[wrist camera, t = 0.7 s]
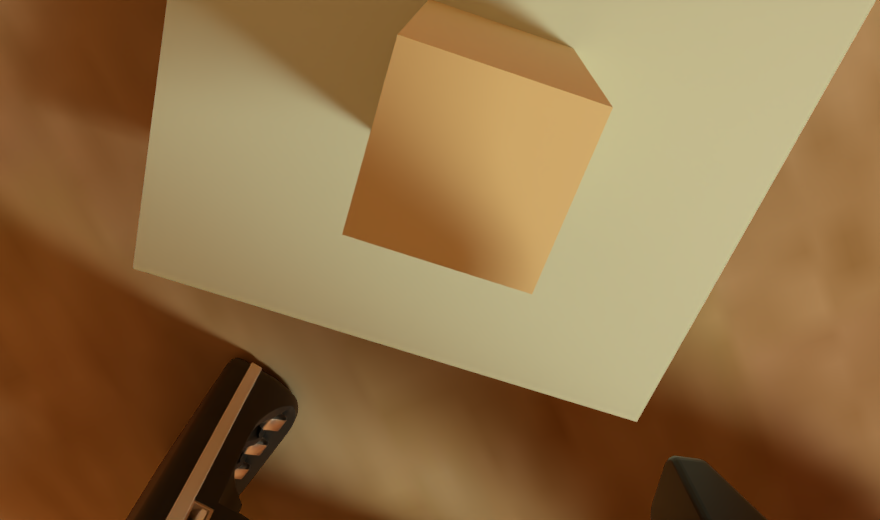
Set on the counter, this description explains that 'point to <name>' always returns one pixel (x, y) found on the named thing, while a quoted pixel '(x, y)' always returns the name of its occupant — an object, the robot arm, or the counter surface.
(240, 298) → the lid
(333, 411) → the counter surface
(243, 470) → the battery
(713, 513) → the robot arm
